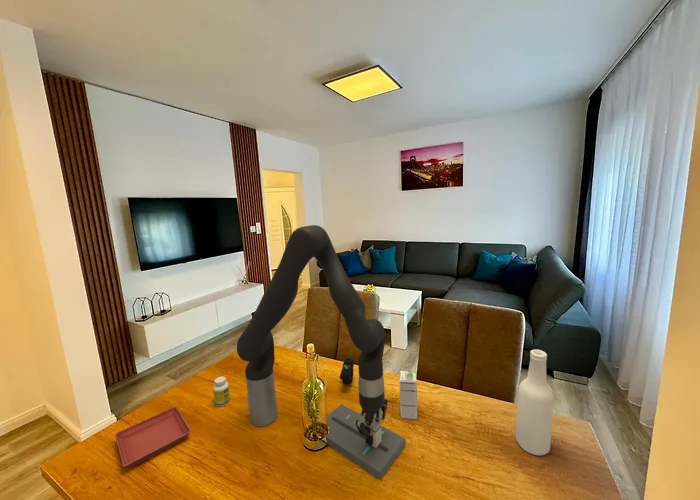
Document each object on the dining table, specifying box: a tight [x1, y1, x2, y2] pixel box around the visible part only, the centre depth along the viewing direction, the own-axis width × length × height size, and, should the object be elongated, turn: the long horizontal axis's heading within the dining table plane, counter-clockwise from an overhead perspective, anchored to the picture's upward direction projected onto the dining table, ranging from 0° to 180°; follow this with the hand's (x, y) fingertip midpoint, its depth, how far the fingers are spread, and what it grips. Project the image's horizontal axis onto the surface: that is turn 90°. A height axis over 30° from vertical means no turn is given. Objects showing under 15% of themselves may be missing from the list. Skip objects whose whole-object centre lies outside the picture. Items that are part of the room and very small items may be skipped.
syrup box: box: [398, 370, 418, 420], centre depth 103 cm, size 6×6×14 cm
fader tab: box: [367, 421, 382, 448], centre depth 88 cm, size 4×3×6 cm
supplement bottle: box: [212, 376, 231, 408], centre depth 113 cm, size 5×5×10 cm
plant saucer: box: [114, 406, 192, 468], centre depth 97 cm, size 18×18×3 cm
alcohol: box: [515, 348, 555, 457], centre depth 86 cm, size 9×9×30 cm
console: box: [325, 403, 407, 481], centre depth 93 cm, size 26×14×3 cm, turn 50°
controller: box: [339, 355, 355, 386], centre depth 121 cm, size 4×12×10 cm, turn 169°
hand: (373, 439), depth 89 cm, fingers open, 3 cm apart
